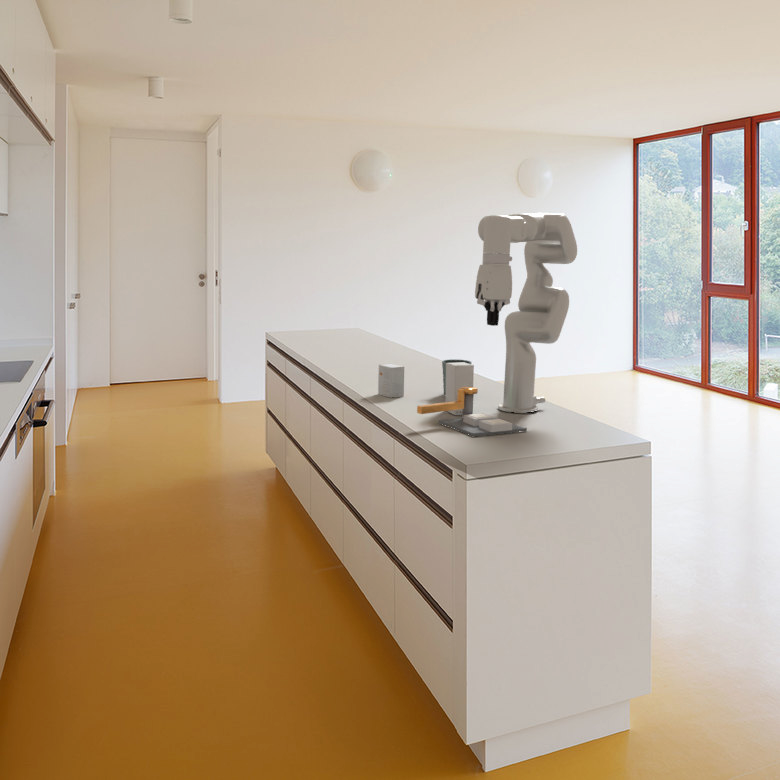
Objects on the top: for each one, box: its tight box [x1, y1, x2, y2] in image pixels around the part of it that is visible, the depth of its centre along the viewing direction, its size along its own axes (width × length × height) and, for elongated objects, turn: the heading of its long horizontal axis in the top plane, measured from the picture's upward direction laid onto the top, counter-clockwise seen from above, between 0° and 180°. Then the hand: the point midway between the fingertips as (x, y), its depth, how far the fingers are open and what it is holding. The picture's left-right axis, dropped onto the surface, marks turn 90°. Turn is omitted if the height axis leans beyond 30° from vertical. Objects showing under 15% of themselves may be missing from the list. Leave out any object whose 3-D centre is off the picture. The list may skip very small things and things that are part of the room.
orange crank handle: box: [416, 386, 478, 415], centre depth 223 cm, size 21×5×6 cm, turn 127°
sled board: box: [438, 394, 527, 438], centre depth 222 cm, size 18×18×8 cm
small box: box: [377, 363, 405, 399], centre depth 267 cm, size 8×6×10 cm
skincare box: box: [445, 362, 475, 416], centre depth 241 cm, size 8×7×16 cm
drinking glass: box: [441, 358, 472, 396], centre depth 271 cm, size 10×10×12 cm
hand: (492, 325), depth 222 cm, fingers closed
